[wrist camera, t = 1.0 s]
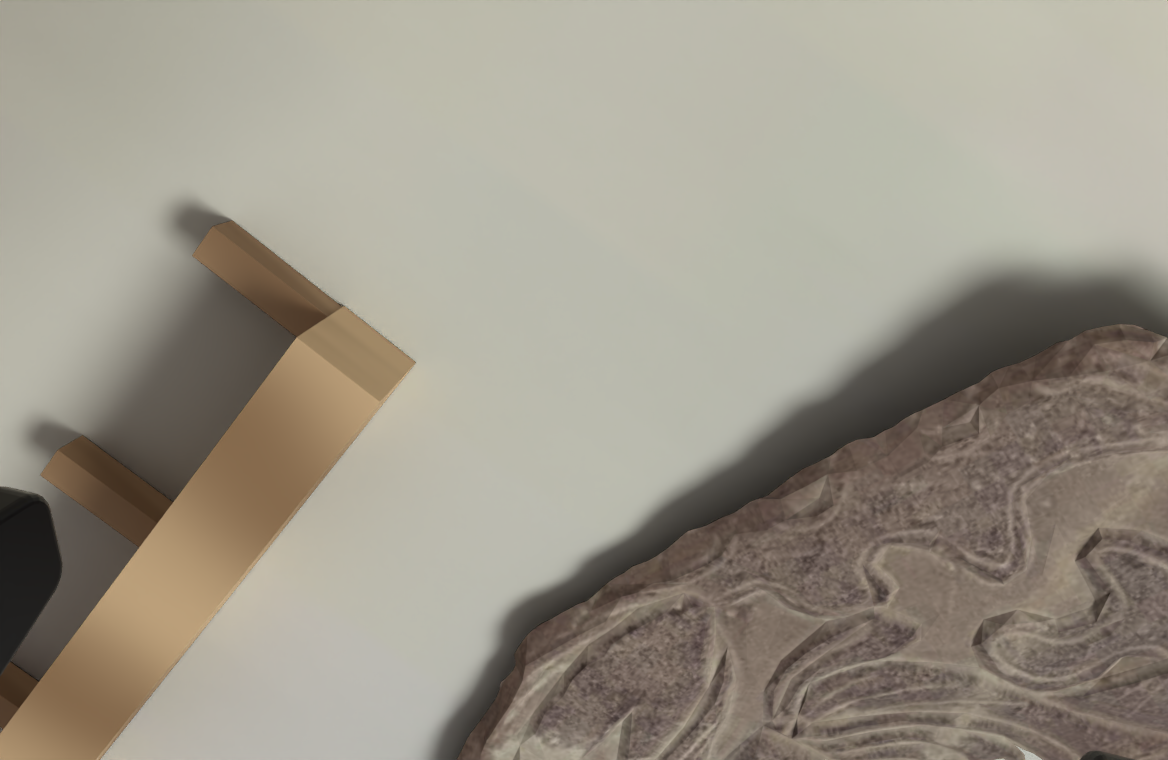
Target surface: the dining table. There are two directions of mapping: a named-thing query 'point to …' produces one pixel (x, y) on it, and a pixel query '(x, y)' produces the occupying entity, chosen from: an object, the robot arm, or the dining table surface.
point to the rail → (201, 510)
